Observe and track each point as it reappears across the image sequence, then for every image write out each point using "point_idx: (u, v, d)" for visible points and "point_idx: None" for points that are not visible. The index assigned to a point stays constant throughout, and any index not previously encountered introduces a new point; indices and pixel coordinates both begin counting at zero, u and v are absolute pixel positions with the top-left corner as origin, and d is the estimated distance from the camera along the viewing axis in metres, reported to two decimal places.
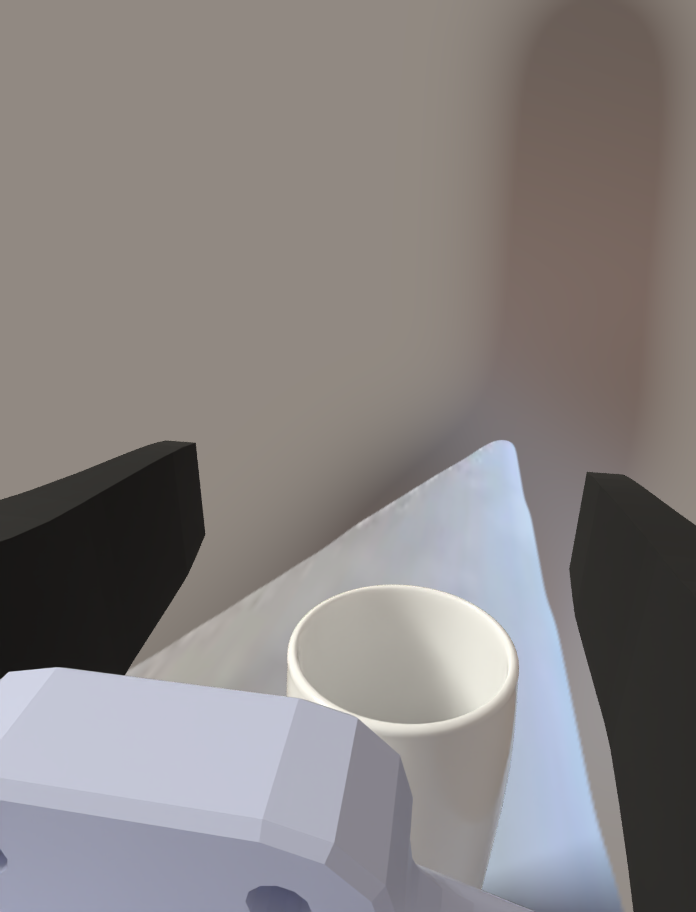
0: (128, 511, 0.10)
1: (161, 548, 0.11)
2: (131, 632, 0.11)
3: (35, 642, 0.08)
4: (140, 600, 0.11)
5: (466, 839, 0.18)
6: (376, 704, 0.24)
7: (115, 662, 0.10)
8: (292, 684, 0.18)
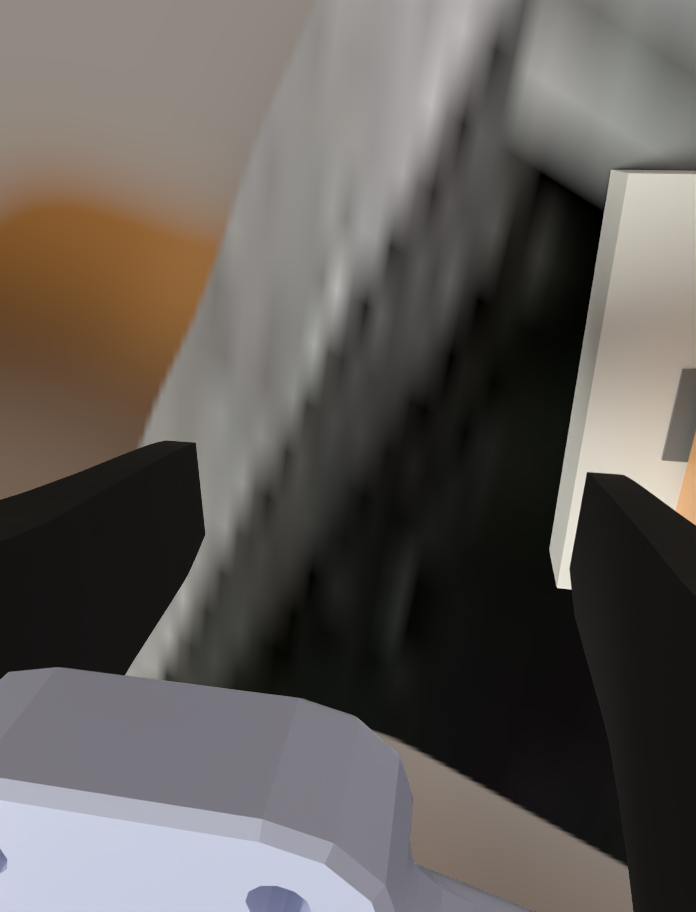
0: (128, 511, 0.10)
1: (161, 548, 0.11)
2: (131, 632, 0.11)
3: (35, 642, 0.08)
4: (140, 600, 0.11)
5: None
6: None
7: (114, 662, 0.10)
8: None
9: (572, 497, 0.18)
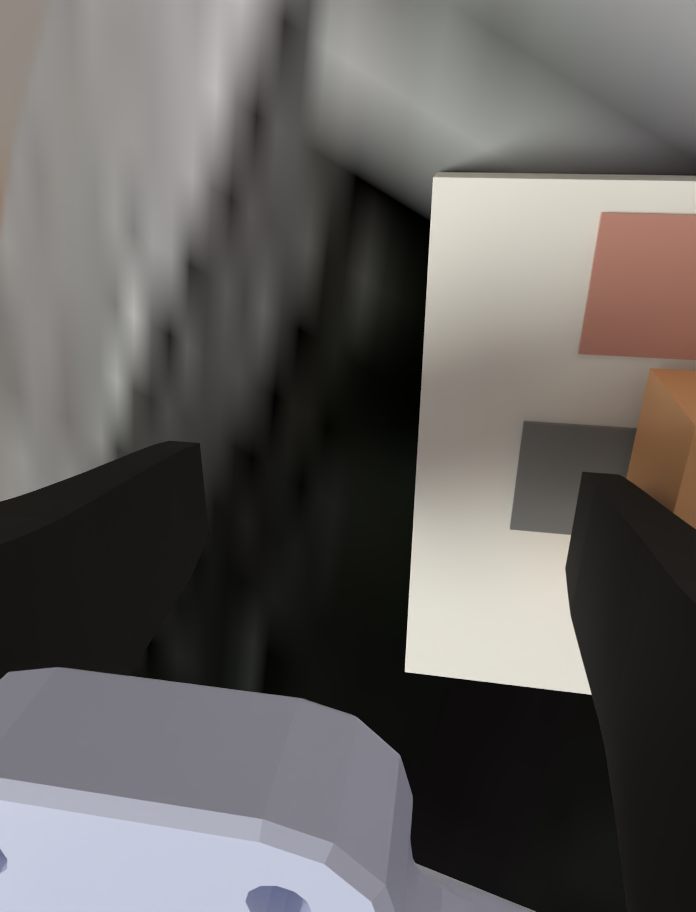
0: (133, 511, 0.10)
1: (165, 548, 0.11)
2: (135, 632, 0.11)
3: (41, 643, 0.08)
4: (144, 600, 0.11)
5: None
6: None
7: (119, 663, 0.10)
8: None
9: None
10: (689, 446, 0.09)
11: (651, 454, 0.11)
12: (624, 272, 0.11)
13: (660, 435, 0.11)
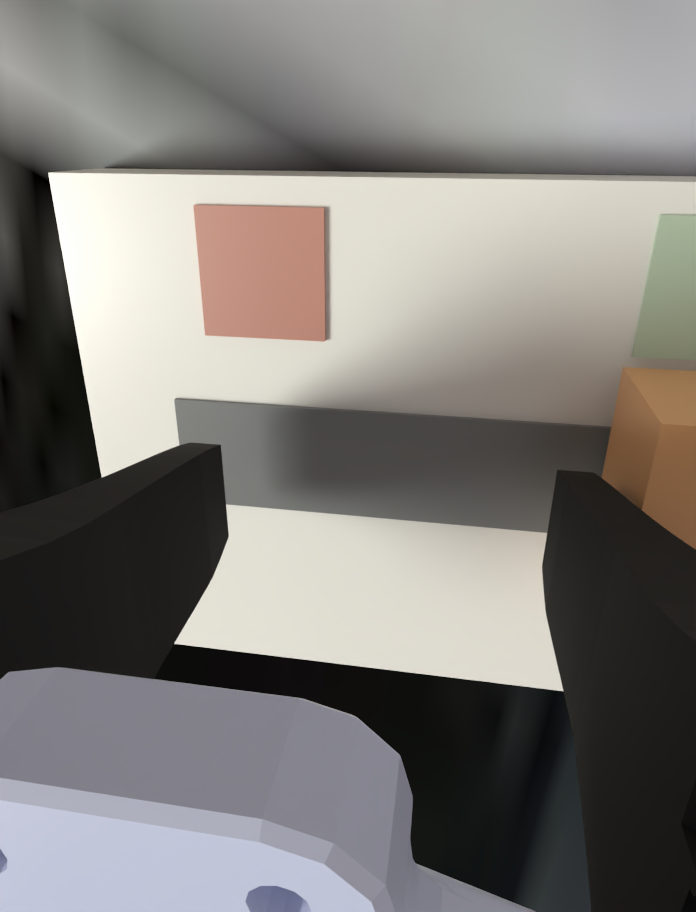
0: (158, 514, 0.10)
1: (188, 551, 0.11)
2: (160, 635, 0.11)
3: (72, 646, 0.08)
4: (168, 603, 0.11)
5: None
6: None
7: (144, 666, 0.10)
8: None
9: None
10: (656, 443, 0.09)
11: (624, 453, 0.11)
12: (225, 259, 0.12)
13: (632, 433, 0.11)
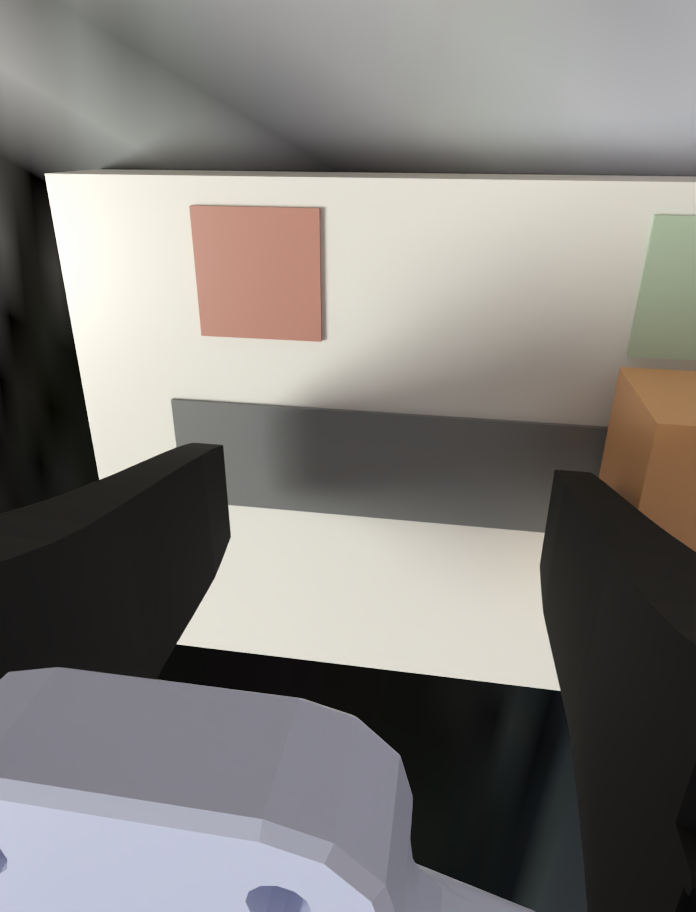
0: (161, 514, 0.10)
1: (191, 551, 0.11)
2: (162, 636, 0.11)
3: (75, 647, 0.08)
4: (171, 603, 0.11)
5: None
6: None
7: (147, 666, 0.10)
8: None
9: None
10: (652, 443, 0.09)
11: (620, 453, 0.11)
12: (221, 259, 0.12)
13: (628, 433, 0.11)
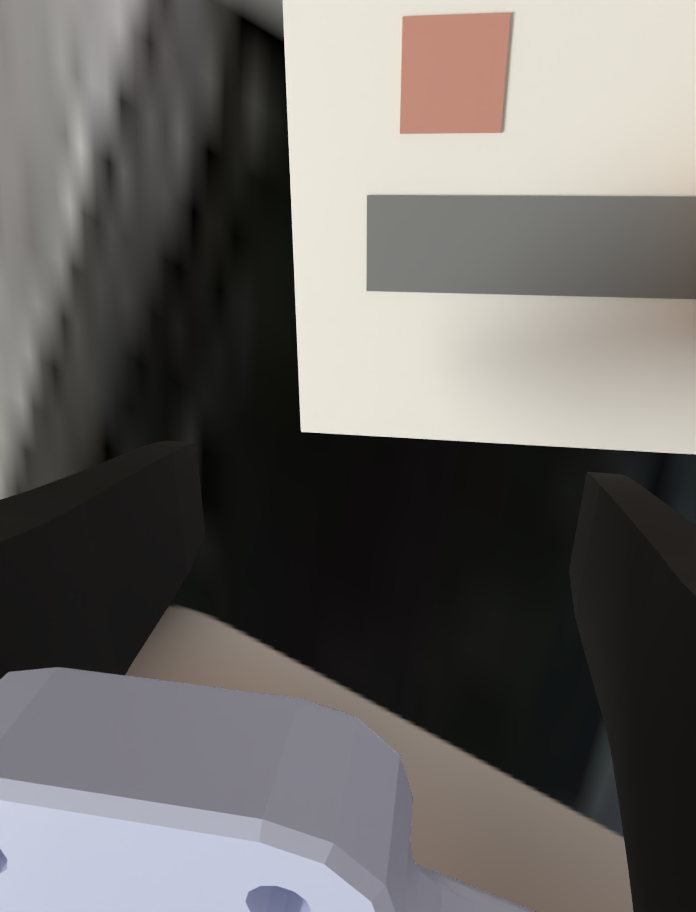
0: (128, 511, 0.10)
1: (161, 548, 0.11)
2: (131, 632, 0.11)
3: (35, 642, 0.08)
4: (140, 600, 0.11)
5: None
6: None
7: (114, 662, 0.10)
8: None
9: None
10: None
11: None
12: (423, 63, 0.15)
13: None
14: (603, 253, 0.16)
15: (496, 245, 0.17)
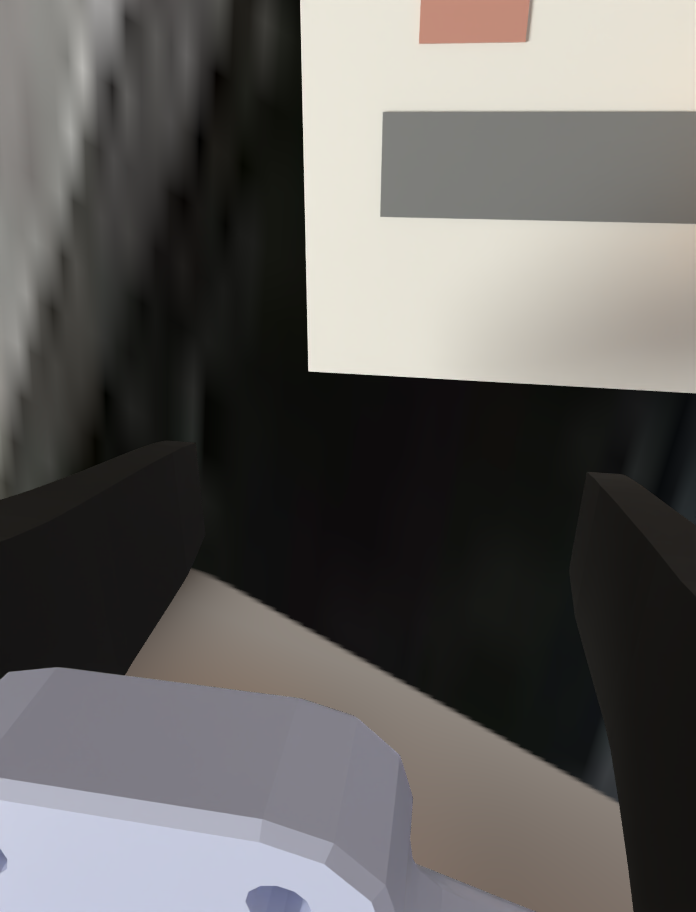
0: (128, 511, 0.10)
1: (161, 548, 0.11)
2: (131, 632, 0.11)
3: (35, 642, 0.08)
4: (140, 600, 0.11)
5: None
6: None
7: (115, 662, 0.10)
8: None
9: (306, 267, 0.18)
10: None
11: None
12: None
13: None
14: (630, 174, 0.16)
15: (518, 166, 0.16)
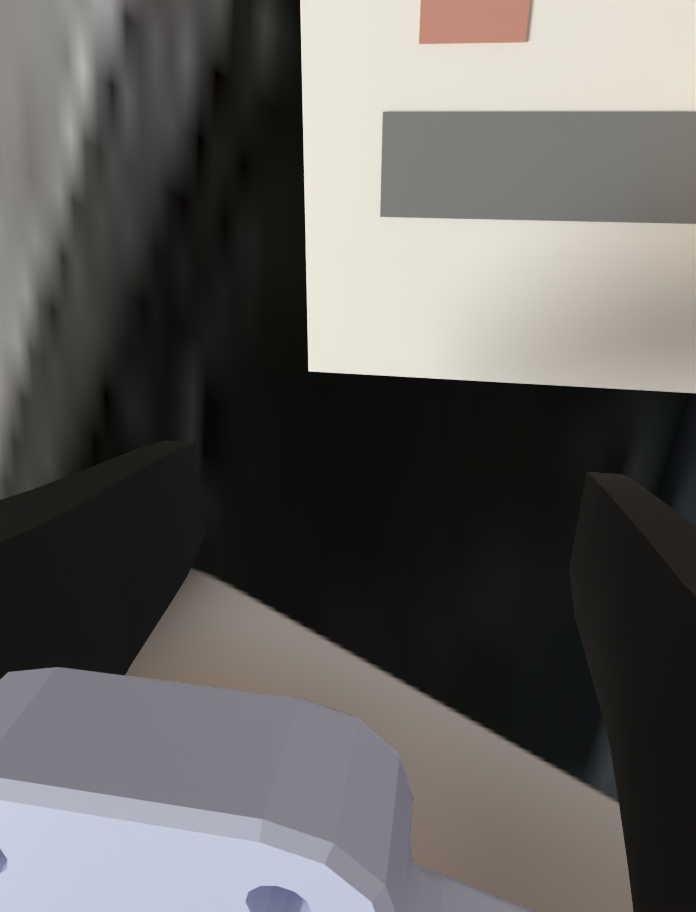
0: (128, 511, 0.10)
1: (161, 548, 0.11)
2: (131, 632, 0.11)
3: (35, 642, 0.08)
4: (140, 600, 0.11)
5: None
6: None
7: (115, 662, 0.10)
8: None
9: (306, 267, 0.18)
10: None
11: None
12: None
13: None
14: (630, 174, 0.16)
15: (518, 166, 0.16)
